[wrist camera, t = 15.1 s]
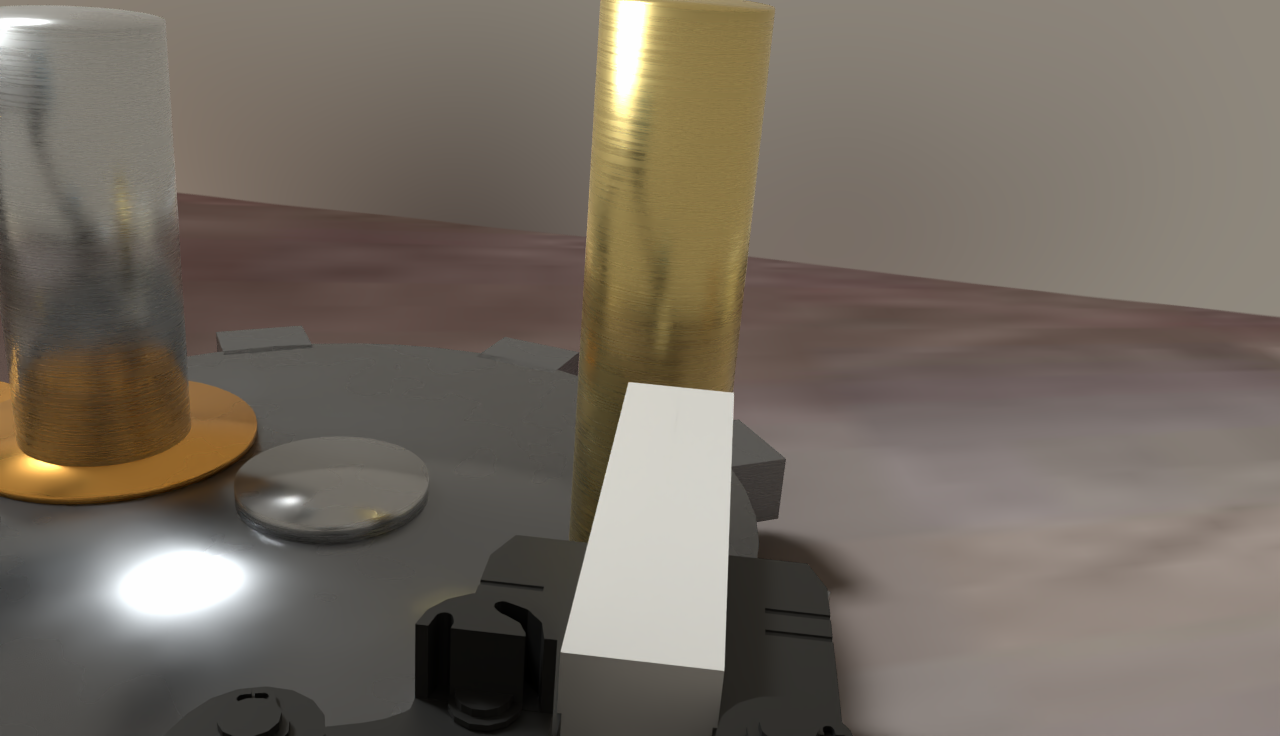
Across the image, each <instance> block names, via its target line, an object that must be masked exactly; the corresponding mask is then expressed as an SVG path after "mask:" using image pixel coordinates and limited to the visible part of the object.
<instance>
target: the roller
mask: <svg viewBox="0 0 1280 736" xmlns="http://www.w3.org/2000/svg"><path fill="white" fill-rule="evenodd" d="M168 70H169V69H168V54H167V38H166V22H165V19H164V18H162V17H159V16H156V15H152V14H147V13H141V12H135V11H126V10H118V9H107V8H95V7H77V6H41V5H40V6H1V7H0V312H1V320H2V328H3V336H4V344H5V352H6V360H7V368H8V376H9V384H10V392H11V400H12V408H13V416H14V424H15V433H16V441H17V445H18V447H19V448H20V449H21V450H22V452H24V453H25V454H27V455H28V456H30V457H32V458H34V459H37V460H40V461H43V462H47V463H51V464H57V465H64V466H78V467H93V466H108V465H116V464H123V463H128V462H133V461H137V460H141V459H145V458H148V457H151V456H154V455H157V454H159V453H162V452H164V451H166V450H168V449H170V448H172V447H174V446H175V445H177V444H178V443H180V442H181V441H182V440H183V439H184V438H185V437H186V436H187V435H188V433H189V432H190V429H191V414H190V398H189V383H188V367H187V351H186V336H185V320H184V304H183V289H182V273H181V257H180V242H179V226H178V210H177V195H176V179H175V164H174V149H173V132H172V117H171V101H170V86H169V71H168Z"/></svg>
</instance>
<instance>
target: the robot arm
mask: <svg viewBox="0 0 1280 736" xmlns="http://www.w3.org/2000/svg"><path fill="white" fill-rule="evenodd" d="M733 405H734V393H731V392H721V391H711V390H702V389H692V388H682V387H672V386H662V385H653V384H643V383H633V382H628V386H627V390H626V394H625V398H624V402H623V406H622V410H621V414H620V418H619V422H618V426H617V430H616V434H615V438H614V442H613V446H612V450H611V454H610V458H609V462H608V466H607V470H606V474H605V478H604V482H603V486H602V490H601V493H600V497H599V501H598V505H597V509H596V513H595V517H594V521H593V525H592V529H591V533H590V537H589V541H588V543H586V542H576V541H567V540H558V539H549V538H540V537H531V536H521V535H515V536H514V537H513V538H511V539H510V540H509V541H507V542H506V543H505V544H504V545H502V546H501V547H500V548H498V549H497V550H496V551H495V552H493V553H492V554H491V555H490V557H489V560H488V562H487V565H486V567H485V570H484V572H483V575H482V577H481V580H480V585H478V587H477V590H476V592H475V593H472V594H467V595H463V596H458V597H454V598H449V599H446V600H445V601H443V602H441V603H439V604H437V605H435V606H433V607H431V608H429V609H427V611H426V612H425V613H424V614H423V615H422V617H421V618H420V619H419V620H418V621H417V623H416V624H415V699H414V701H413V703H412V706H411V708H410V709H409V710H407V711H405V712H403V713H400V714H397V715H394V716H391V717H388V718H386V719H381V720H375V721H370V722H364V723H356V724H346V725H337V726H327V727H325V715H324V714H323V712H322V711H321V710H320V708H319V707H318V706H317V705H316V703H315V702H314V701H313V700H312V699H310V698H308V697H306V696H304V695H302V694H300V693H298V692H295V691H293V690H288V689H281V688H274V687H268V686H265V687H255V688H245V689H237V690H234V691H231V692H228V693H225V694H222V695H219V696H216V697H213V698H210V699H209V700H207V701H206V702H204V703H203V704H201V705H200V706H198V707H196V708H195V709H193V710H192V711H190V712H189V713H188V714H186V715H185V716H184V717H183V718H182V719H181V720H180V721H179V722H178V723H176V724H175V725H174V726H173V727H172V728H171V729H170V730H169V731H168V732H166V733H165V734H164V735H163V736H852V733H851V731H850V730H849V729H848V728H847V727H846V726H845V725H844V724H843V723H842V718H841V709H840V700H839V691H838V682H837V673H836V664H835V655H834V646H833V642H832V628H831V621H830V609H829V600H828V591H827V588H826V587H825V585H824V584H823V583H822V582H821V580H820V579H819V578H818V577H817V575H816V574H815V573H814V571H813V570H812V569H811V568H810V566H809V565H808V564H806V563H797V562H787V561H778V560H769V559H760V558H751V557H742V556H732V555H728V551H729V522H730V493H731V464H732V435H733Z"/></svg>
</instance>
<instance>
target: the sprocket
mask: <svg viewBox="0 0 1280 736" xmlns="http://www.w3.org/2000/svg"><path fill="white" fill-rule="evenodd" d="M774 14H775V8H774V7H773V6H770V5H766V4H762V3H757V2H751V1H744V0H601V1H600V18H599V36H598V52H597V69H596V87H595V103H594V120H593V137H592V154H591V171H590V188H589V205H588V222H587V239H586V256H585V273H584V290H583V307H582V324H581V341H580V358H579V352H575V351H570V350H565V349H560V348H556V347H551V346H546V345H541V344H536V343H531V342H526V341H522V340H517V339H512V338H507V337H504V338H503V339H501V340H500V341H498V342H497V343H495V344H494V345H492V346H491V347H490V348H488V349H487V350H485V351H484V352H482V353H473V352H466V351H458V350H450V349H442V348H431V347H419V346H406V345H386V344H311V342H310V340H309V339H308V337H307V335H306V333H305V331H304V329H303V327H302V326H292V327H279V328H265V329H252V330H239V331H226V332H216V338H217V352H216V353H209V354H202V355H196V356H189V357H187V367H188V383H189V398H190V414H191V429H190V432H189V433H188V435H187V436H186V437H185V438H184V439H183V440H182V441H181V442H180V443H178V444H177V445H175V446H174V447H172V448H170V449H168V450H166V451H164V452H162V453H159V454H157V455H154V456H151V457H148V458H145V459H141V460H137V461H133V462H128V463H123V464H116V465H108V466H93V467H78V466H64V465H57V464H51V463H47V462H43V461H40V460H37V459H34V458H32V457H30V456H28V455H27V454H25V453H24V452H22V450H21V449H20V448H19V447H18V445H17V441H16V433H15V424H14V416H13V408H12V400H11V392H10V384H8V383H4V382H1V381H0V736H163V735H164V734H165V733H166V732H168V731H169V730H170V729H171V728H172V727H173V726H174V725H175V724H176V723H178V722H179V721H180V720H181V719H182V718H183V717H184V716H185V715H186V714H188V713H189V712H190V711H192V710H193V709H195V708H196V707H198V706H200V705H201V704H203V703H204V702H206V701H207V700H209V699H210V698H213V697H216V696H219V695H222V694H225V693H228V692H231V691H234V690H237V689H245V688H255V687H265V686H268V687H274V688H281V689H288V690H293V691H295V692H298V693H300V694H302V695H304V696H306V697H308V698H310V699H312V700H313V701H314V702H315V703H316V705H317V706H318V707H319V708H320V710H321V711H322V712H323V714H324V715H325V727H327V726H337V725H346V724H356V723H364V722H370V721H375V720H381V719H386V718H388V717H391V716H394V715H397V714H400V713H403V712H405V711H407V710H409V709H410V708H411V706H412V703H413V701H414V699H415V624H416V623H417V621H418V620H419V619H420V618H421V617H422V615H423V614H424V613H425V612H426V611H427V609H429V608H431V607H433V606H435V605H437V604H439V603H441V602H443V601H445V600H446V599H449V598H454V597H458V596H463V595H467V594H472V593H475V592H476V590H477V587H478V585H480V580H481V577H482V575H483V572H484V570H485V567H486V565H487V562H488V560H489V557H490V555H491V554H492V553H493V552H495V551H496V550H497V549H498V548H500V547H501V546H502V545H504V544H505V543H506V542H507V541H509V540H510V539H511V538H513V537H514V536H515V535H521V536H531V537H540V538H549V539H558V540H567V541H576V542H586V543H588V541H589V537H590V533H591V529H592V525H593V521H594V517H595V513H596V509H597V505H598V501H599V497H600V493H601V490H602V486H603V482H604V478H605V474H606V470H607V466H608V462H609V458H610V454H611V450H612V446H613V442H614V438H615V434H616V430H617V426H618V422H619V418H620V414H621V410H622V406H623V402H624V398H625V394H626V390H627V386H628V382H633V383H643V384H653V385H662V386H672V387H682V388H692V389H702V390H711V391H721V392H731V393H733V385H734V376H735V367H736V358H737V349H738V340H739V331H740V322H741V313H742V304H743V295H744V286H745V277H746V268H747V259H748V249H749V241H750V231H751V222H752V213H753V204H754V195H755V186H756V177H757V168H758V159H759V150H760V141H761V131H762V123H763V114H764V105H765V96H766V87H767V78H768V68H769V59H770V51H771V42H772V32H773V24H774ZM578 361H579V375H578ZM785 461H786V459H785V458H784V457H783V456H782V455H781V454H779V453H778V452H777V451H776V450H775V449H773V448H772V447H771V446H770V445H769V444H767V443H766V442H765V441H764V440H763V439H761V438H760V437H759V436H758V435H757V434H755V433H754V432H753V431H752V430H751V429H749V428H748V427H747V426H746V425H745V424H743V423H742V422H741V421H740V420H733V435H732V464H731V493H730V522H729V551H728V555H732V556H742V557H751V558H757V556H758V548H759V539H758V531H757V522H760V521H766V520H772V519H778V515H779V507H780V499H781V492H782V484H783V476H784V469H785ZM830 593H831V592H829V591H828V600H829V599H830Z"/></svg>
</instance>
